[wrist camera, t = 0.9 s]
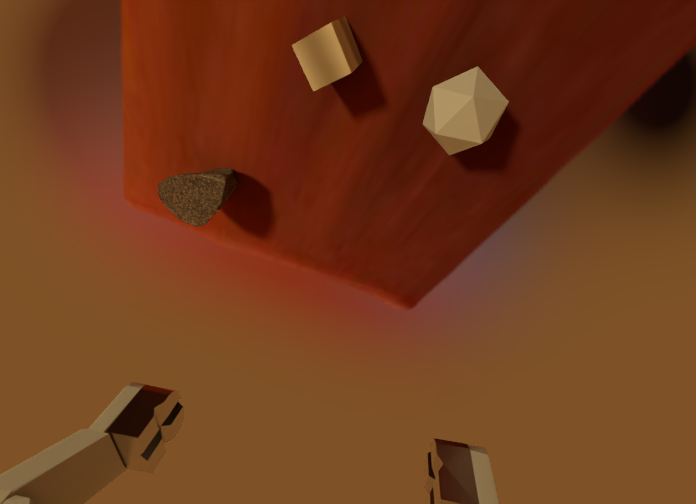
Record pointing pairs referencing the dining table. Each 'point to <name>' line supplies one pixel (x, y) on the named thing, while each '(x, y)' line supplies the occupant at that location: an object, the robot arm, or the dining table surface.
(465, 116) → the die
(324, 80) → the beech block
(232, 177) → the rock
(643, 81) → the dining table surface
